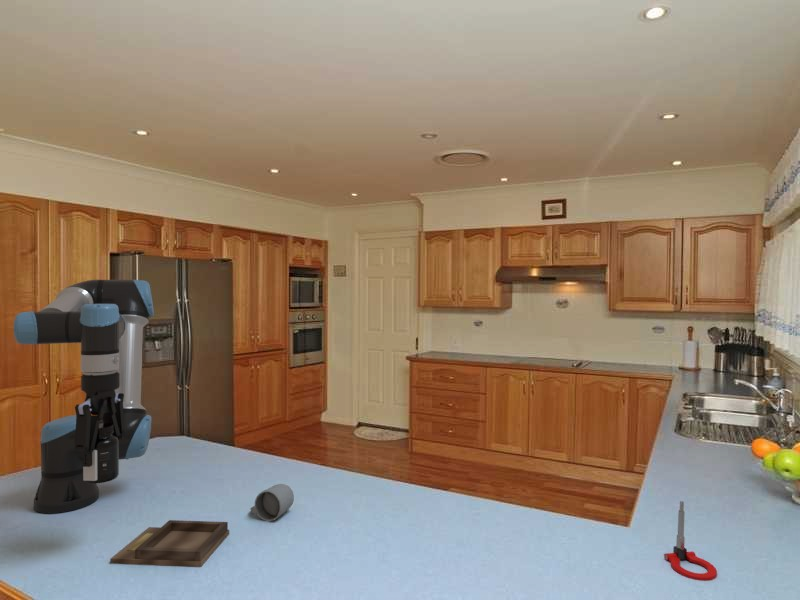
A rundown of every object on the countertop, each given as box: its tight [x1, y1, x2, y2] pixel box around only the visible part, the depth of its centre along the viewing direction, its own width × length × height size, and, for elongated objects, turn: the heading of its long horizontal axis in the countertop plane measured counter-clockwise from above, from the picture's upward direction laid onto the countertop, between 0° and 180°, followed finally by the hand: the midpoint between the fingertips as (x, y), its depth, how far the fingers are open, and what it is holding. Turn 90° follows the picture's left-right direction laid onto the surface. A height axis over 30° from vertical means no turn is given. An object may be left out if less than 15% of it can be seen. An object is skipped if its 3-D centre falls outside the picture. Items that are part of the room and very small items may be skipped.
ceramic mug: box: [250, 483, 295, 522], centre depth 136 cm, size 11×8×8 cm
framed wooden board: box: [109, 519, 230, 568], centre depth 118 cm, size 20×15×3 cm
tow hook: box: [663, 500, 718, 582], centre depth 109 cm, size 8×13×9 cm
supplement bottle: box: [85, 423, 120, 484], centre depth 118 cm, size 7×7×12 cm
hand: (101, 473), depth 118 cm, fingers closed on supplement bottle, 7 cm apart
